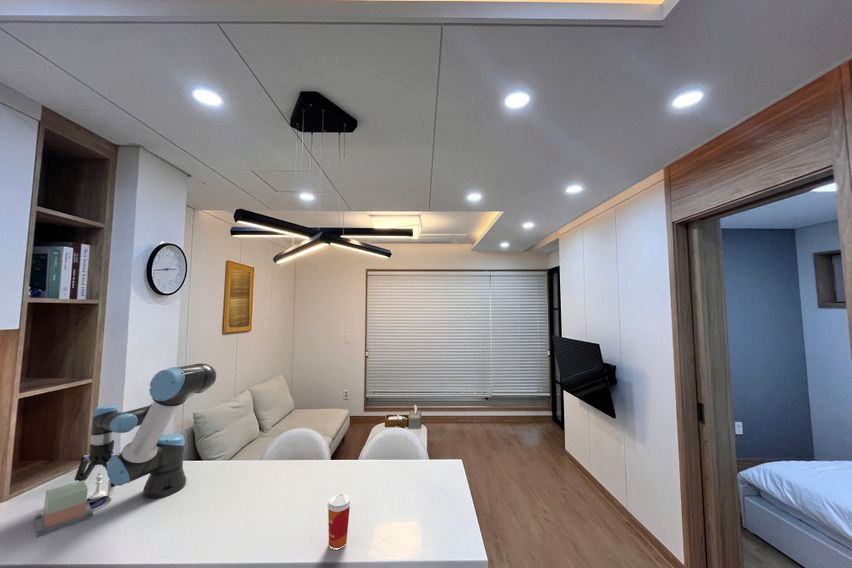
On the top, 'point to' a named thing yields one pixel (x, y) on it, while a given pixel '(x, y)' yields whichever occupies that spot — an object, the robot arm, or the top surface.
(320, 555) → the top surface
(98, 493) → the chess piece
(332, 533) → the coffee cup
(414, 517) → the top surface
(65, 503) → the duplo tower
